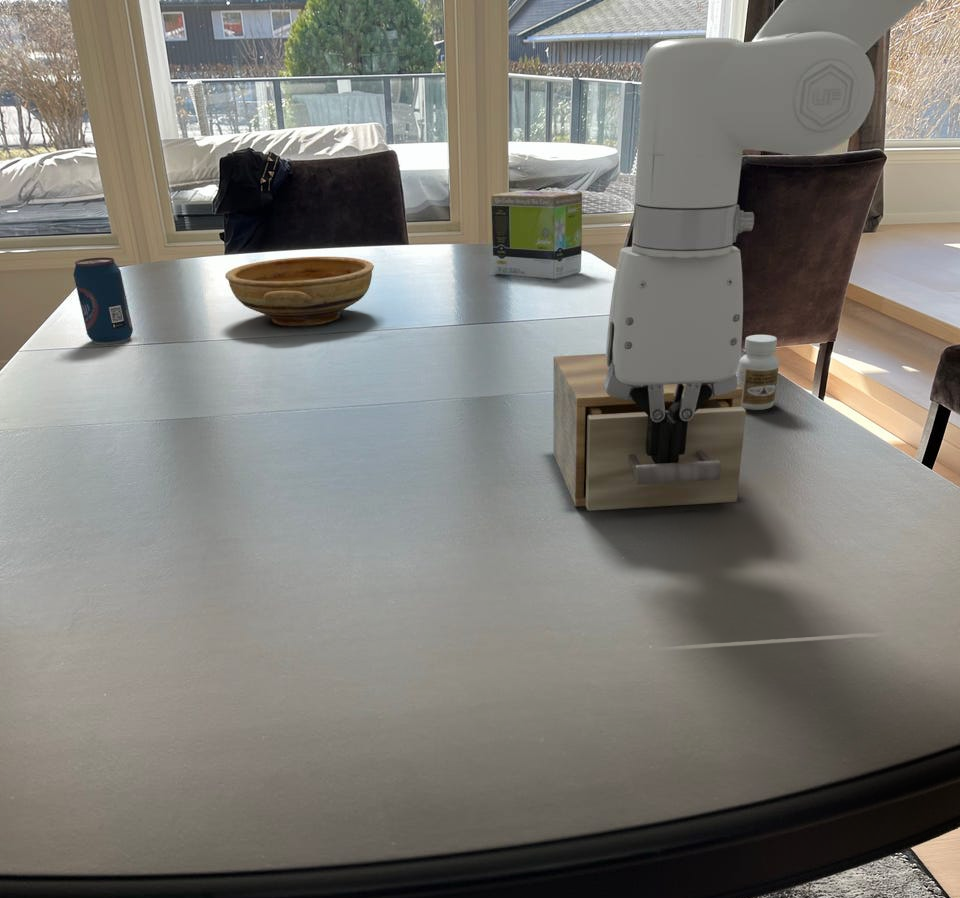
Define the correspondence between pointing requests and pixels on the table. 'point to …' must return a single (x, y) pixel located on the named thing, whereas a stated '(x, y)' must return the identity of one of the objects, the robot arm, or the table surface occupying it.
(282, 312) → the ceramic bowl
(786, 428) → the table surface
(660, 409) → the robot arm
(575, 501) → the cabinet
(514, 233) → the tea box
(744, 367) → the pill bottle
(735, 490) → the drawer
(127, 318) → the soda can
